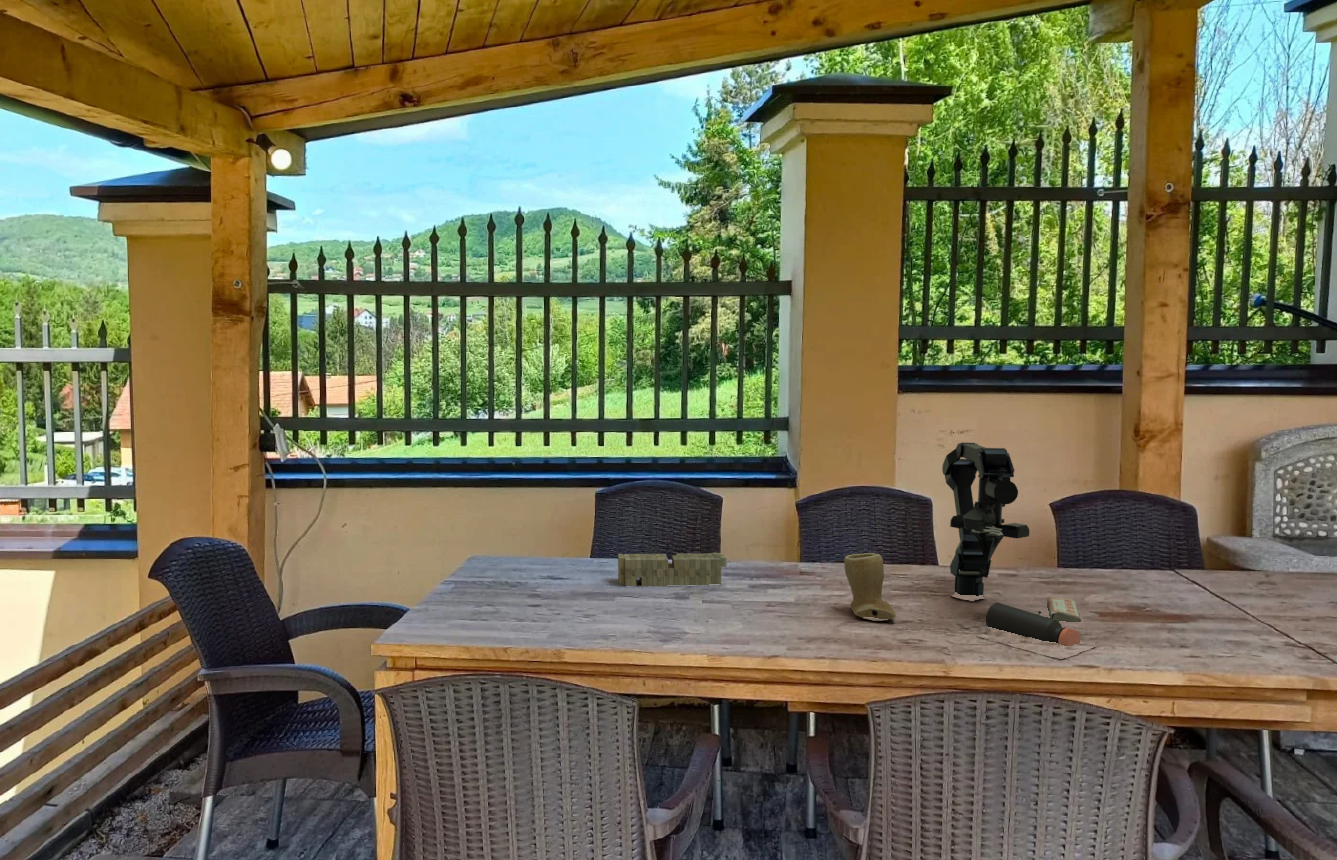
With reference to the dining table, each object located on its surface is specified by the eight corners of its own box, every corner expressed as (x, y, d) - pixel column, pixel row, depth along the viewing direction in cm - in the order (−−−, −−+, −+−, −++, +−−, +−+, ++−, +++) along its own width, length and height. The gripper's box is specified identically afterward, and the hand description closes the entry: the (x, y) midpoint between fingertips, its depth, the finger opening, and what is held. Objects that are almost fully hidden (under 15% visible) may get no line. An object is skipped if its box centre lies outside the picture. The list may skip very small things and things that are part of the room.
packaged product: (1039, 593, 230) (1082, 598, 226) (1038, 612, 230) (1081, 617, 226) (1041, 611, 213) (1088, 616, 209) (1040, 631, 213) (1087, 637, 210)
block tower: (620, 590, 245) (727, 586, 248) (619, 560, 244) (727, 556, 247) (618, 583, 252) (722, 579, 256) (617, 553, 252) (722, 550, 255)
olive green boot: (840, 605, 231) (842, 547, 229) (888, 608, 229) (891, 549, 228) (845, 622, 216) (847, 559, 214) (896, 625, 214) (899, 562, 213)
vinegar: (992, 636, 211) (1072, 663, 195) (980, 619, 208) (1061, 645, 192) (1006, 613, 214) (1086, 638, 197) (995, 596, 210) (1076, 620, 194)
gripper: (938, 495, 228) (935, 557, 229) (1007, 506, 213) (1003, 571, 214) (964, 492, 235) (961, 552, 236) (1032, 502, 220) (1028, 566, 221)
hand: (987, 560), depth 227 cm, fingers closed
